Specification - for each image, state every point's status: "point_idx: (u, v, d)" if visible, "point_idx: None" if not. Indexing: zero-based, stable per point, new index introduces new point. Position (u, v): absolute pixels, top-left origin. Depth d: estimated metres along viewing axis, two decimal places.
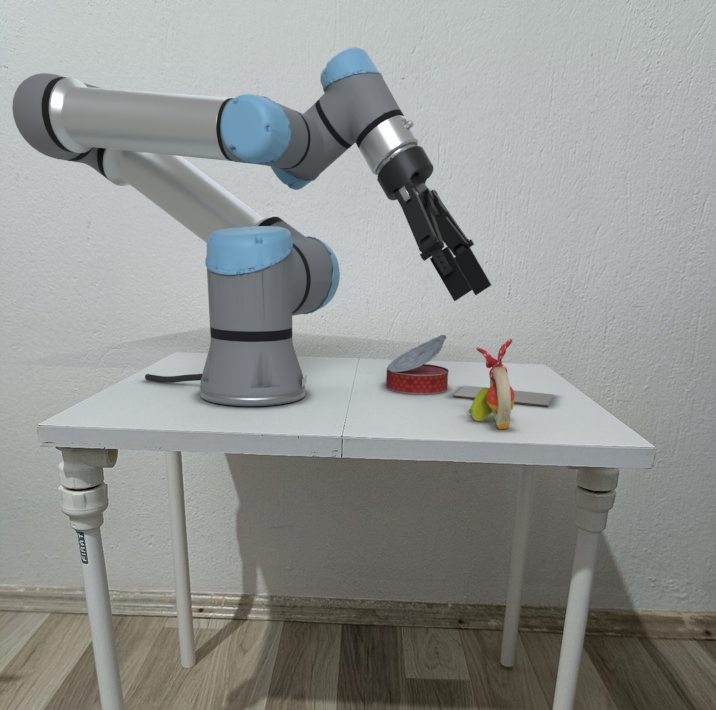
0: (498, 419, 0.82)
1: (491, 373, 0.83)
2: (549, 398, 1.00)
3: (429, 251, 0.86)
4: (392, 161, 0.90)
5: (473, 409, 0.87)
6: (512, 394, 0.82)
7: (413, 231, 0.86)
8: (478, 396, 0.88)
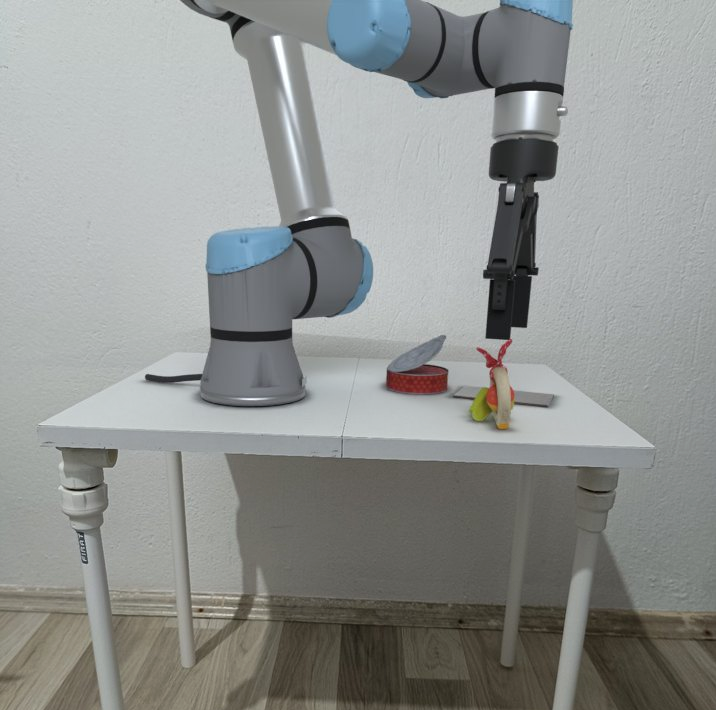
0: (498, 419, 0.82)
1: (491, 373, 0.83)
2: (549, 398, 1.00)
3: (495, 275, 0.72)
4: (520, 143, 0.72)
5: (473, 409, 0.87)
6: (512, 394, 0.82)
7: (493, 242, 0.71)
8: (478, 396, 0.88)
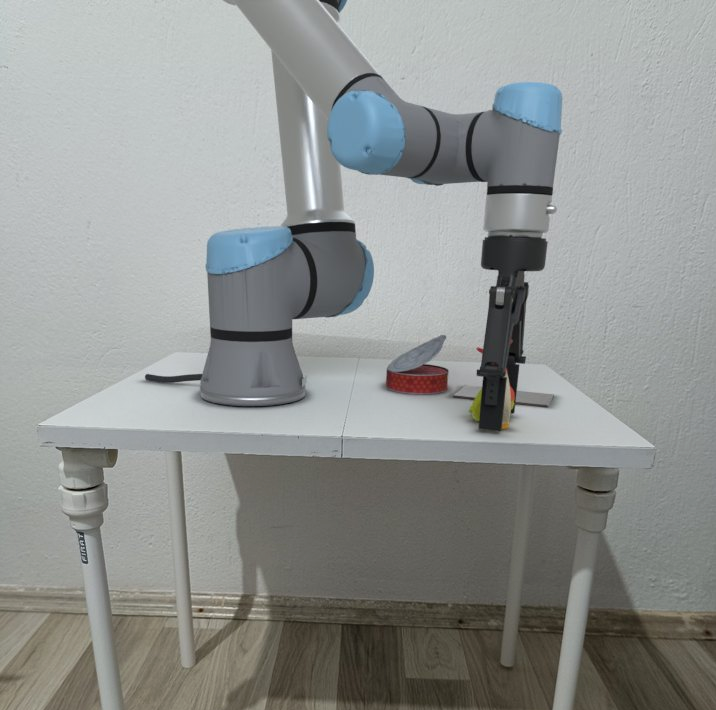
0: None
1: None
2: (549, 398, 1.00)
3: (487, 375, 0.77)
4: (510, 241, 0.75)
5: (473, 409, 0.87)
6: (512, 394, 0.82)
7: (485, 346, 0.76)
8: (478, 396, 0.88)
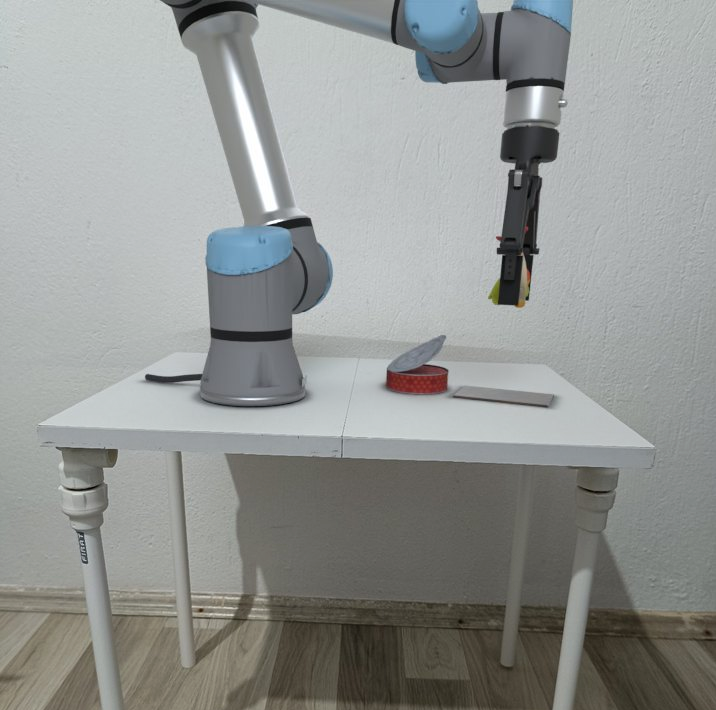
0: None
1: None
2: (549, 398, 1.00)
3: (506, 251, 0.87)
4: (527, 130, 0.85)
5: (492, 294, 0.97)
6: (528, 274, 0.92)
7: (504, 223, 0.86)
8: (497, 283, 0.98)
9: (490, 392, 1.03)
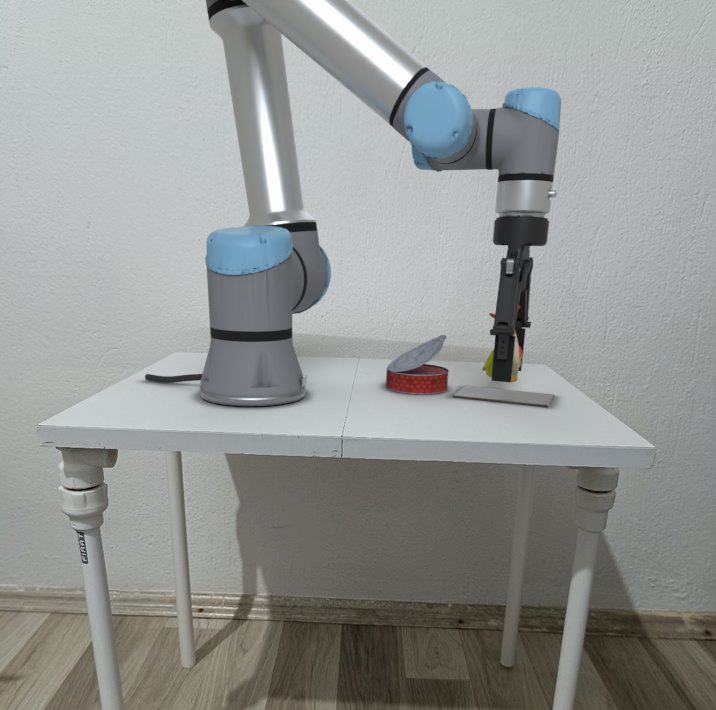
0: None
1: None
2: (549, 398, 1.00)
3: (499, 333, 0.92)
4: (518, 220, 0.90)
5: (486, 366, 1.02)
6: (520, 351, 0.96)
7: (497, 308, 0.90)
8: (490, 356, 1.02)
9: (490, 392, 1.03)
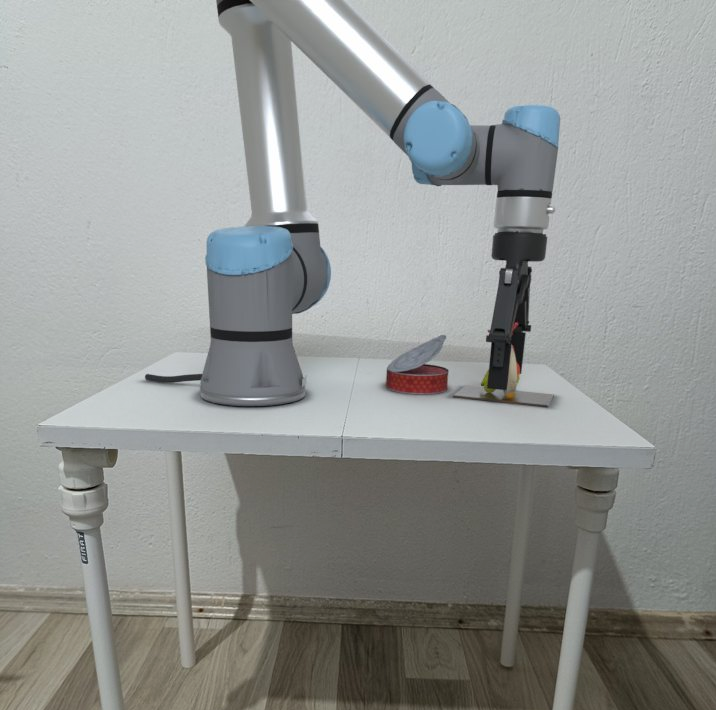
0: (506, 390, 0.98)
1: None
2: (549, 398, 1.00)
3: (495, 340, 0.90)
4: (516, 236, 0.90)
5: (484, 382, 1.02)
6: (518, 368, 0.97)
7: (494, 315, 0.90)
8: None
9: None
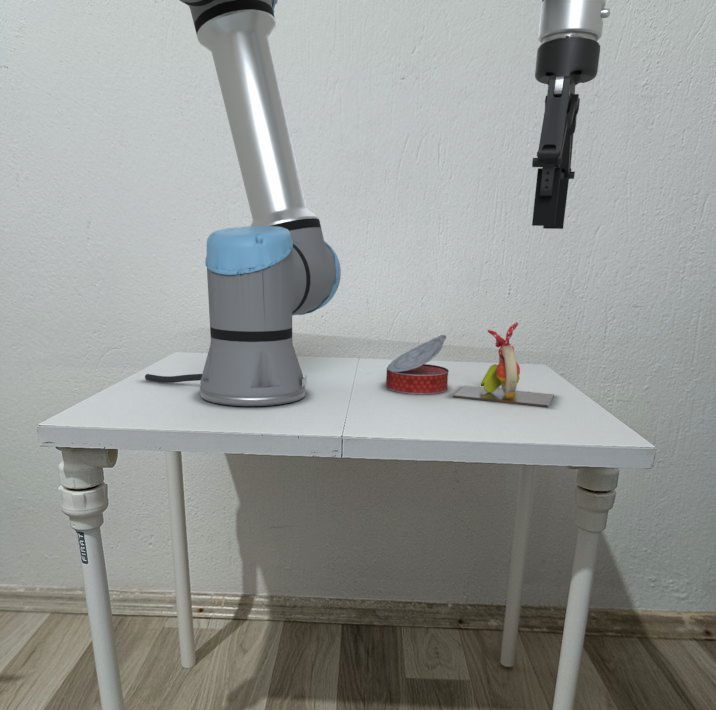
0: (506, 390, 0.98)
1: (500, 351, 0.98)
2: (549, 398, 1.00)
3: (544, 161, 0.79)
4: (567, 41, 0.79)
5: (484, 382, 1.02)
6: (518, 368, 0.97)
7: (543, 130, 0.78)
8: (489, 371, 1.03)
9: None
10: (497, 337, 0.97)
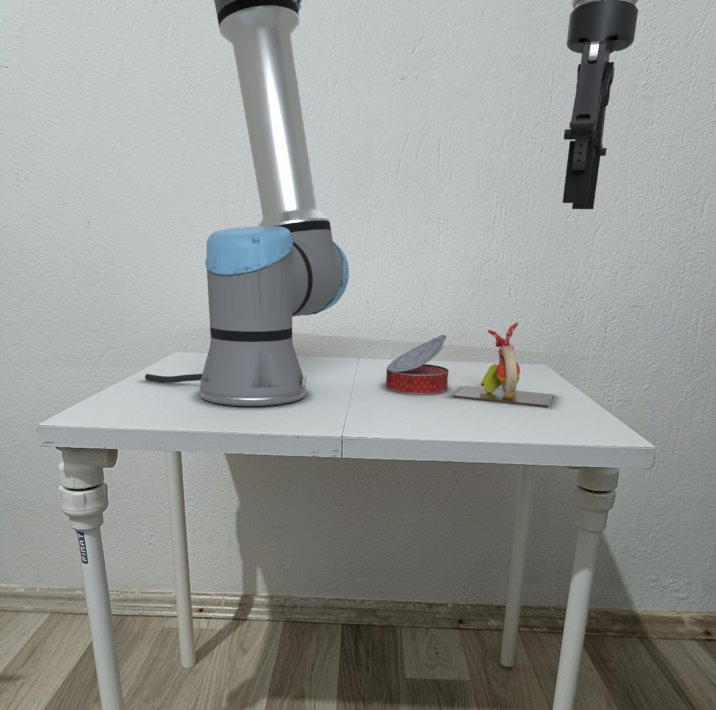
0: (506, 390, 0.98)
1: (500, 351, 0.98)
2: (549, 398, 1.00)
3: (577, 133, 0.73)
4: (602, 4, 0.73)
5: (484, 382, 1.02)
6: (518, 368, 0.97)
7: (576, 99, 0.73)
8: (489, 371, 1.03)
9: None
10: (497, 337, 0.97)
